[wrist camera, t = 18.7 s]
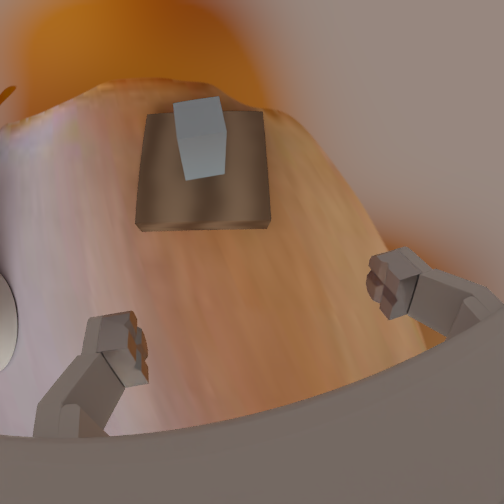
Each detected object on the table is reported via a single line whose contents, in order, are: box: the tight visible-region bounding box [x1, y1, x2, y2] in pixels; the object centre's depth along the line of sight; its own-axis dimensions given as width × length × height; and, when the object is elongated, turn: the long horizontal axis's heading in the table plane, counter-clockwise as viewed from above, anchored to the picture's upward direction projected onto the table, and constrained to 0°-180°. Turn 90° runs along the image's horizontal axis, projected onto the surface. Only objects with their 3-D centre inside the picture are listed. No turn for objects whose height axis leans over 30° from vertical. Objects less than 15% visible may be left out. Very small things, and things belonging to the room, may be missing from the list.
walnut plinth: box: [135, 111, 271, 232], centre depth 34 cm, size 14×14×3 cm
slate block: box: [173, 96, 227, 181], centre depth 29 cm, size 4×4×8 cm
